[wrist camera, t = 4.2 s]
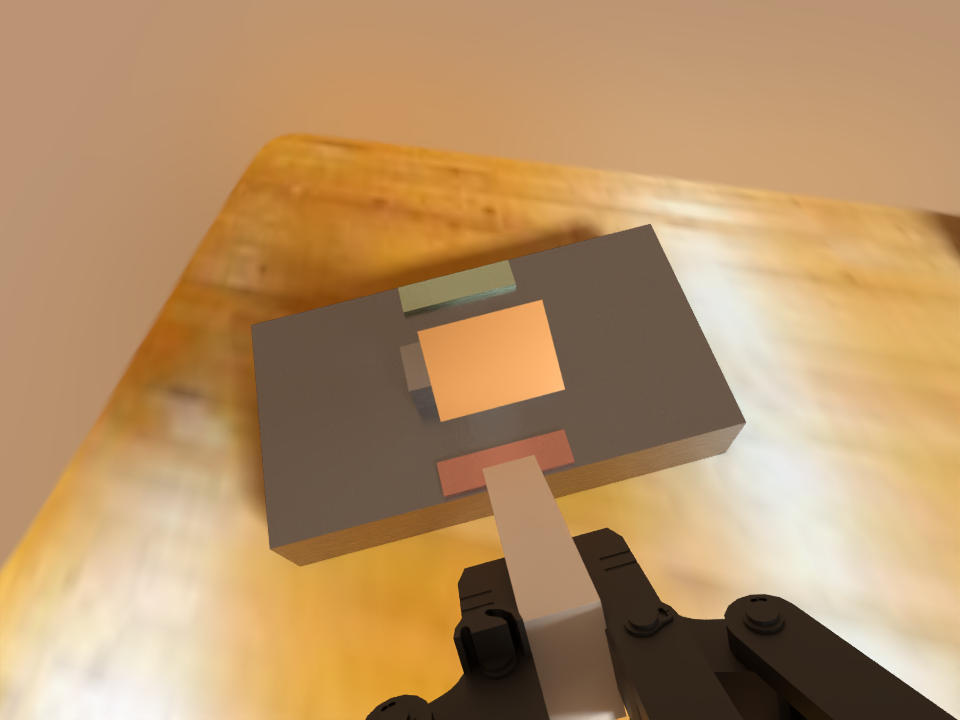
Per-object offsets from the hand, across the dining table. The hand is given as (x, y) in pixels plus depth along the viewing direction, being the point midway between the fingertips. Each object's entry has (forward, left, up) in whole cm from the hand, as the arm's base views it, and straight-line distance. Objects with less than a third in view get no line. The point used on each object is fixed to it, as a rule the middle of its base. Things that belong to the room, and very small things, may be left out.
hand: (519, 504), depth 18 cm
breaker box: (0, -10, -14) cm, 17 cm away
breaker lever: (0, -10, -10) cm, 14 cm away
